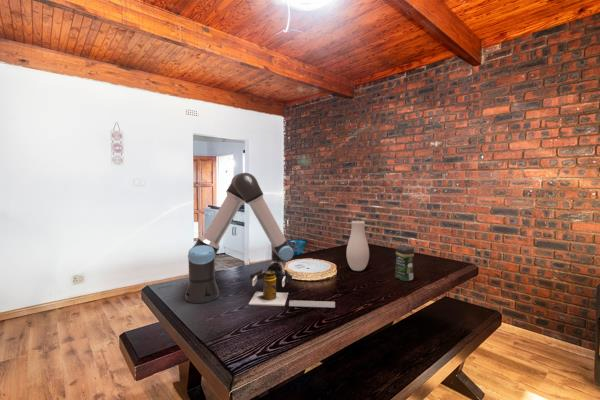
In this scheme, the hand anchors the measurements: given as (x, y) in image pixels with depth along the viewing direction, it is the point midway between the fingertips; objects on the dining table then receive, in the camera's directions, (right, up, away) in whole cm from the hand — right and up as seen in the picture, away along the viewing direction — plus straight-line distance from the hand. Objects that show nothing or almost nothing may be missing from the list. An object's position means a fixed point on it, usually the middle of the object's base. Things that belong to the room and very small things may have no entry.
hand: (267, 283), depth 135 cm
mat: (0, -8, +4) cm, 9 cm away
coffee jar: (+73, -7, +32) cm, 80 cm away
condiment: (0, -8, +4) cm, 9 cm away
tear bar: (+20, -9, -4) cm, 22 cm away
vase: (+50, -6, +49) cm, 70 cm away
